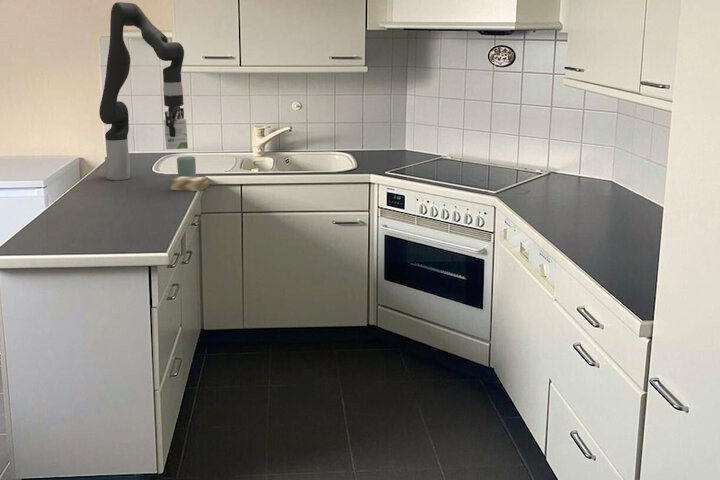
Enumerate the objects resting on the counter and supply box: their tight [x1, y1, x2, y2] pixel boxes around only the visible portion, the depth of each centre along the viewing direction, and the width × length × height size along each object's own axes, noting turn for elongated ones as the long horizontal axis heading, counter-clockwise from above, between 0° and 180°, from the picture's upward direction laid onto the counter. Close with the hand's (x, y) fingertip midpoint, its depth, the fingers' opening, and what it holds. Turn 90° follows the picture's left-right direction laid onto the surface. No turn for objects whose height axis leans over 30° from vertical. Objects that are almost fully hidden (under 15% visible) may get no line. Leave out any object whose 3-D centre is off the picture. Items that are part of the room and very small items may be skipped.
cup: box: [176, 155, 197, 177], centre depth 368 cm, size 8×8×10 cm
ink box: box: [163, 118, 189, 150], centre depth 345 cm, size 8×5×12 cm, turn 105°
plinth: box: [169, 176, 210, 192], centre depth 352 cm, size 13×9×4 cm
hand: (176, 135), depth 345 cm, fingers closed on ink box, 6 cm apart
